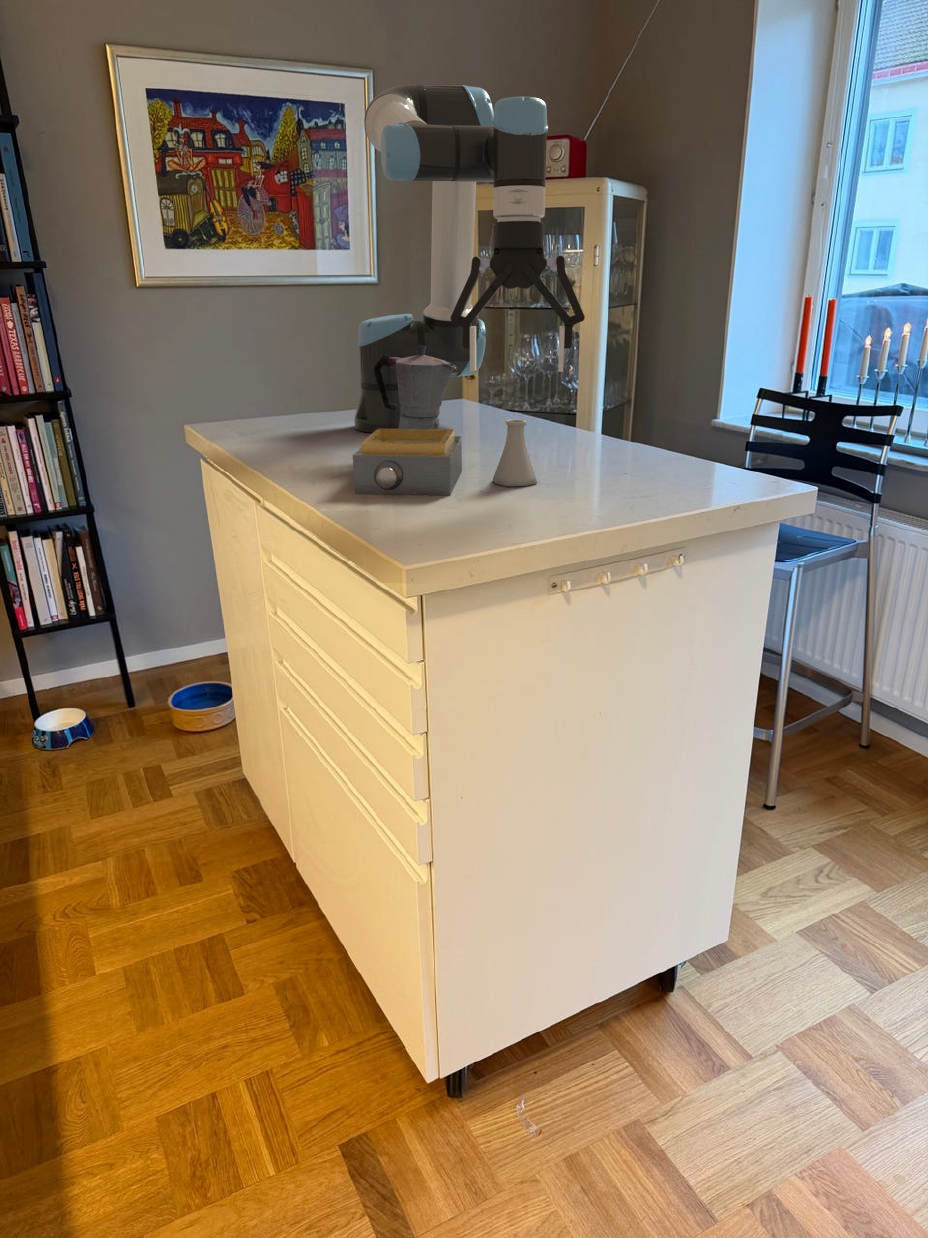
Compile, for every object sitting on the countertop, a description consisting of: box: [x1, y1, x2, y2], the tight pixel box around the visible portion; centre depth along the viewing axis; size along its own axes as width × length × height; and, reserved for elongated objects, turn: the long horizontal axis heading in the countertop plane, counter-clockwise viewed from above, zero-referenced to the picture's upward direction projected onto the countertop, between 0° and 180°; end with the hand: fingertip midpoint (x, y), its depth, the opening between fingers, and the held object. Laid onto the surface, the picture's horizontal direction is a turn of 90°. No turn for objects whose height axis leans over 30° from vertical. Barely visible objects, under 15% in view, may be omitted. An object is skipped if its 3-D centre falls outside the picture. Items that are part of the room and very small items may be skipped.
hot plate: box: [352, 428, 463, 496], centre depth 139 cm, size 19×15×8 cm
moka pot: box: [374, 345, 456, 429], centre depth 155 cm, size 10×15×20 cm, turn 78°
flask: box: [492, 418, 538, 487], centre depth 139 cm, size 7×7×10 cm
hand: (516, 371), depth 134 cm, fingers open, 13 cm apart
